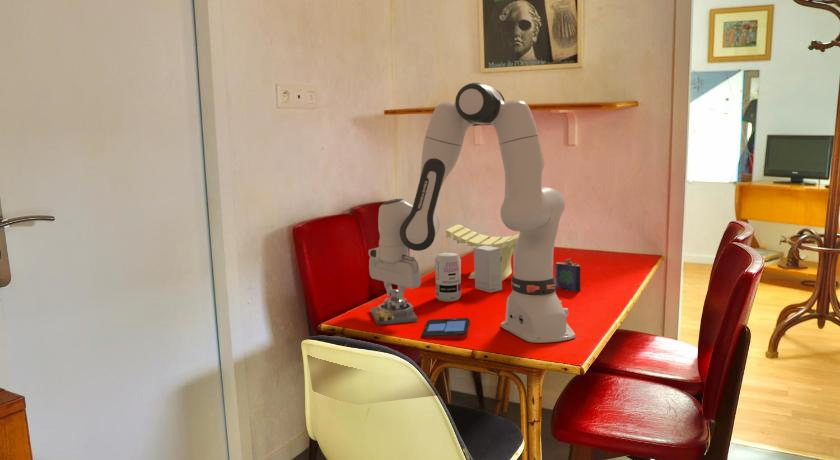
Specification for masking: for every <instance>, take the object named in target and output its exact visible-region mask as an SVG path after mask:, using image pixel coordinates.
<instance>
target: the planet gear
mask: <svg viewBox="0 0 840 460" xmlns="http://www.w3.org/2000/svg"><path fill="white" fill-rule="evenodd" d="M392 289H393V290H391V297H390V298H389V297H386V298H385V299H384V300H383V303H384V308H387V309H396V310H399V308H406V306H407V303H408V299H407V298H403V299H397V298H396V293H398V291H399V289H398V288H396V289H395V288H392Z"/></svg>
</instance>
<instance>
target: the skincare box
mask: <svg viewBox="0 0 840 460" xmlns="http://www.w3.org/2000/svg"><path fill="white" fill-rule="evenodd" d="M473 263H474V264H473V265H474V266H473V267H474V271H475V279H474V283H475V285H474V288H475V289H476V290H479V291H483V292H487V293H494V292H499V291H500V292H501V291H502V290H503V281H502V276H501V254H500V248H497V247H491V246H486V245H485V246H480V247H477V246H474V247H473Z"/></svg>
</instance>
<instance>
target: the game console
mask: <svg viewBox="0 0 840 460" xmlns="http://www.w3.org/2000/svg"><path fill="white" fill-rule="evenodd" d="M424 325H425V326H424V328H423V331H422V333H421V335H420V338H421V339H426V340H427V339H430V340H431V339H432V340H435V339H436V340H465V339H467V338H468V335H469V333H468V332H469V328H470V325H471V320H470V318H467V317H454V318H434V319H433V318H432V319H427V320H426V323H425V324H424Z"/></svg>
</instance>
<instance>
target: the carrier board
mask: <svg viewBox="0 0 840 460" xmlns="http://www.w3.org/2000/svg"><path fill="white" fill-rule="evenodd" d="M369 310H370V314H371V315H372V317H373V320H374V321H375V323H376V325H377V326H385V324H386V325H395V324H396V323H397V324H407V323H417V322H419V318H418V316H417V314H415V312H414V306H413V305H412V304H411V302H407V306H406V308H399V310H396V309H387V308H384V302H383V303H381V304H378V305H377V306H376V307H370V308H369Z"/></svg>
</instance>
